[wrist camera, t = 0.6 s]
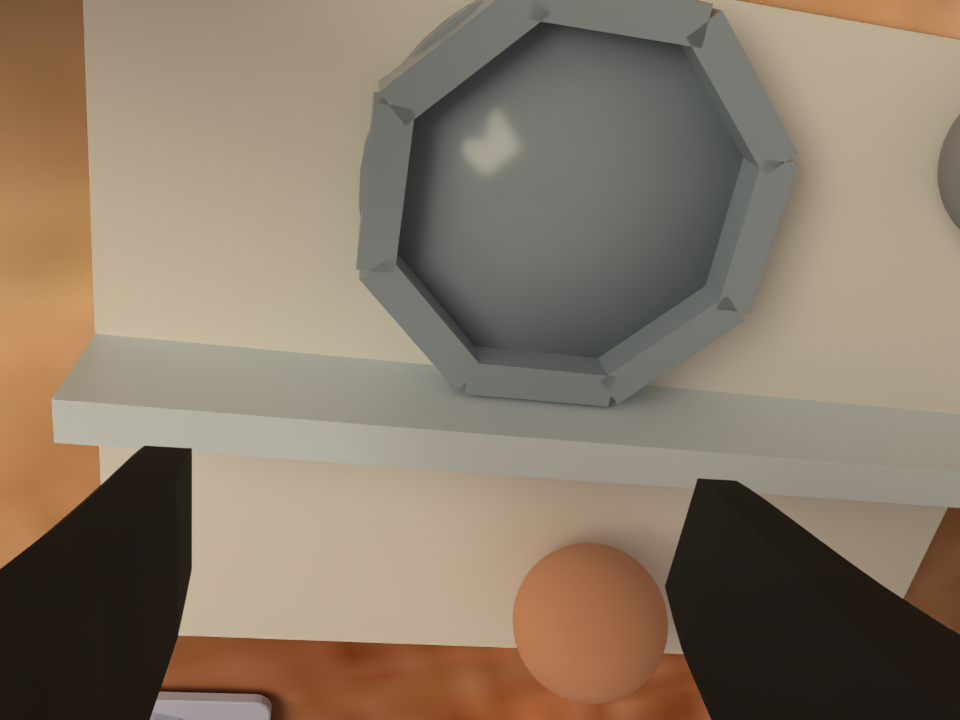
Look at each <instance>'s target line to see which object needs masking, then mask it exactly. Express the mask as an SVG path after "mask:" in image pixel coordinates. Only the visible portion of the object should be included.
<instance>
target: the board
mask: <svg viewBox="0 0 960 720" xmlns="http://www.w3.org/2000/svg"><path fill="white" fill-rule="evenodd" d="M474 1H476V0H83V21H84V48H85V75H86V102H87V129H88V156H89V183H90V210H91V238H92V265H93V292H94V319H95V334H105V335H116V336H127V337H137V338H148V339H159V340H170V341H180V342H191V343H202V344H212V345H223V346H234V347H245V348H255V349H266V350H277V351H287V352H298V353H309V354H320V355H330V356H341V357H352V358H362V359H373V360H384V361H395V362H405V363H416V364H427V365H434V364H433V363H432V362H431V361H430V360H429V359H428V358H427V356H426V355H425V354H424V353H423V352H422V351H421V350H420V348H419V347H418V346H417V345H416V344H415V343H414V342H413V340H412V339H411V338H410V337H409V336H408V335H407V334H406V332H405V331H404V330H403V329H402V328H401V327H400V326H399V324H398V323H397V322H396V321H395V320H394V319H393V318H392V316H391V315H390V314H389V313H388V312H387V311H386V309H385V308H384V307H383V306H382V305H381V304H380V303H379V301H378V300H377V299H376V298H375V297H374V296H373V295H372V293H371V292H370V291H369V290H368V289H367V288H366V287H365V285H364V284H363V283H362V282H361V281H360V280H359V270H356V259H357V244H358V234H359V225H360V210H359V189H360V168H361V162H362V156H363V150H364V144H365V140H366V137H367V134H368V131H369V127H370V120H371V110H372V101H373V91H374V92H379V81H380V80H381V79H382V78H384V77H385V76H386V75H387V74H389V73H390V72H391V71H392V70H394V69H395V68H396V67H398V66H399V65H400V64H401V63H403V62H404V61H405V60H406V58H407V57H408V56H409V55H410V54H411V52H412V51H413V50H414V49H415V48H416V46H417V45H418V44H419V43H420V42H421V41H422V40H423V39H424V38H425V37H426V36H427V35H429V34H430V33H431V32H432V31H433V30H434V29H435V28H436V27H437V26H438V25H440V24H441V23H442V22H443V21H444V20H446V19H447V18H449V17H450V16H452V15H453V14H455V13H456V12H458V11H459V10H460V9H462V8H463V7H465V6H466V5H468V4H470V3H472V2H474ZM700 1H704V2H708V3H712V4H713V7H712V8H715V9H719V10H722V11H723V13H724V15H725V16H726V18H727V20H728V22H729V24H730V26H731V28H732V30H733V31H734V33H735V35H736V37H737V39H738V41H739V43H740V45H741V47H742V48H743V50H744V52H745V54H746V56H747V58H748V60H749V62H750V64H751V65H752V67H753V69H754V71H755V73H756V75H757V77H758V79H759V81H760V82H761V84H762V86H763V88H764V90H765V92H766V94H767V96H768V97H769V99H770V101H771V103H772V105H773V107H774V109H775V111H776V113H777V114H778V116H779V118H780V120H781V122H782V124H783V126H784V128H785V130H786V131H787V133H788V135H789V137H790V139H791V141H792V143H793V145H794V146H795V148H796V150H797V152H798V154H797V155H795V156H794V157H792V158H791V160H793V161H794V162H796V163H798V168H797V171H796V174H795V177H794V180H793V183H792V186H791V189H790V192H789V195H788V198H787V201H786V204H785V207H784V211H783V214H782V217H781V220H780V223H779V226H778V229H777V232H776V235H775V238H774V241H773V244H772V247H771V250H770V253H769V257H768V260H767V263H766V266H765V269H764V272H763V275H762V278H761V281H760V284H759V287H758V290H757V293H756V296H755V300H754V303H753V306H752V309H751V312H750V313H744V312H738V313H739V314H740V316H741V318H742V319H743V322H742V323H740V324H739V325H737V326H736V327H734V328H733V329H731V330H730V331H728V332H727V333H725V334H724V335H722V336H721V337H719V338H718V339H716V340H715V341H713V342H712V343H710V344H709V345H707V346H705V347H704V348H702V349H701V350H699V351H698V352H696V353H695V354H693V355H692V356H690V357H689V358H687V359H686V360H684V361H683V362H681V363H680V364H678V365H677V366H675V367H674V368H672V369H671V370H669V371H668V372H666V373H664V374H663V375H661V376H660V377H658V378H657V379H655V380H654V381H652V382H651V383H649V384H648V385H652V386H662V387H673V388H684V389H695V390H705V391H716V392H727V393H737V394H748V395H759V396H770V397H780V398H791V399H802V400H812V401H823V402H834V403H845V404H855V405H866V406H877V407H887V408H898V409H909V410H920V411H930V412H941V413H952V414H960V230H959V228H958V227H957V226H956V225H955V224H954V223H953V221H952V220H951V218H950V216H949V215H948V213H947V211H946V209H945V207H944V205H943V202H942V200H941V196H940V192H939V187H938V177H937V171H938V161H939V156H940V152H941V148H942V145H943V142H944V140H945V138H946V135H947V133H948V131H949V129H950V128H951V126H952V124H953V123H954V121H955V120H956V118H957V117H958V116H959V114H960V39H955V38H949V37H943V36H938V35H932V34H927V33H921V32H915V31H910V30H904V29H898V28H893V27H887V26H882V25H876V24H870V23H865V22H859V21H853V20H848V19H842V18H836V17H831V16H825V15H820V14H814V13H808V12H803V11H797V10H791V9H786V8H780V7H775V6H769V5H763V4H758V3H752V2H746V1H741V0H700ZM138 450H139V449H135V448H121V447H107V446H99V454H100V481H101V484H102V483H104V482H105V481H106V480H107V479H108V478H109V477H110V476H111V475H112V474H113V473H114V472H115V471H116V470H117V469H118V468H120V467H121V466H122V465H123V464H124V463H125V462H126V461H127V460H128V459H129V458H130V457H131V456H132V455H133V454H135V453H136V452H137V451H138ZM693 492H694V489H689V488H675V487H661V486H647V485H633V484H619V483H605V482H592V481H578V480H564V479H550V478H536V477H522V476H509V475H495V474H481V473H467V472H453V471H439V470H425V469H412V468H398V467H384V466H370V465H356V464H342V463H329V462H315V461H301V460H287V459H273V458H259V457H245V456H232V455H218V454H204V453H192V571H191V576H190V581H189V586H188V591H187V596H186V601H185V606H184V610H183V615H182V620H181V624H180V629H179V633H178V635H182V636H209V637H236V638H263V639H290V640H317V641H344V642H371V643H398V644H425V645H452V646H479V647H506V648H517V646H516V643H515V638H514V633H513V608H514V603H515V599H516V596H517V592H518V590H519V588H520V586H521V584H522V582H523V580H524V578H525V577H526V575H527V574H528V572H529V571H530V570H531V569H532V568H533V567H534V565H535V564H536V563H537V562H538V561H540V560H541V559H542V558H543V557H545V556H546V555H548V554H549V553H551V552H553V551H555V550H557V549H559V548H562V547H565V546H568V545H573V544H578V543H597V544H602V545H607V546H611V547H613V548H616V549H619V550H620V551H622V552H624V553H626V554H628V555H630V556H631V557H632V558H634V559H635V560H636V561H638V562H639V563H640V564H641V565H642V566H643V567H644V568H645V569H646V570H647V571H648V572H649V574H650V575H651V576H652V578H653V579H654V581H655V582H656V584H657V586H658V588H659V590H660V592H661V594H662V596H663V599H664V603H665V606H666V610H667V617H668V635H667V642H666V646H665V650H664V653H668V654H684V653H683V651H682V648H681V645H680V642H679V638H678V635H677V631H676V628H675V624H674V621H673V617H672V613H671V609H670V605H669V601H668V597H667V593H666V589H665V584H666V581H667V578H668V574H669V571H670V568H671V564H672V561H673V558H674V555H675V551H676V548H677V545H678V541H679V538H680V535H681V532H682V528H683V525H684V522H685V519H686V515H687V512H688V509H689V505H690V502H691V499H692V496H693ZM757 494H758V493H757ZM758 495H759V496H761V497H762V498H764V499H765V500H767V501H768V502H769V503H771V504H772V505H773V506H775V507H776V508H778V509H779V510H780V511H782V512H783V513H784V514H786V515H787V516H788V517H790V518H791V519H792V520H794V521H795V522H796V523H798V524H799V525H800V526H802V527H803V528H804V529H806V530H807V531H808V532H810V533H811V534H812V535H814V536H815V537H816V538H818V539H819V540H820V541H822V542H823V543H825V544H826V545H827V546H829V547H830V548H831V549H833V550H834V551H835V552H837V553H838V554H839V555H841V556H842V557H843V558H845V559H846V560H848V561H849V562H850V563H852V564H853V565H855V566H856V567H857V568H859V569H860V570H862V571H863V572H864V573H866V574H867V575H869V576H870V577H871V578H873V579H874V580H876V581H877V582H879V583H880V584H881V585H883V586H884V587H886V588H887V589H889V590H890V591H892V592H893V593H895V594H896V595H898V596H899V597H901V598H902V599H904V597H905V594H906V592H907V590H908V588H909V586H910V584H911V582H912V580H913V578H914V576H915V574H916V572H917V570H918V568H919V566H920V564H921V562H922V560H923V558H924V556H925V553H926V551H927V549H928V547H929V545H930V543H931V541H932V539H933V537H934V535H935V533H936V531H937V529H938V527H939V525H940V523H941V521H942V519H943V517H944V515H945V512H946V510H947V508H948V507H938V506H924V505H910V504H896V503H882V502H869V501H855V500H841V499H827V498H813V497H799V496H785V495H772V494H758Z"/></svg>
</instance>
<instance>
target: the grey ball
mask: <svg viewBox="0 0 960 720" xmlns="http://www.w3.org/2000/svg"><path fill="white" fill-rule="evenodd" d="M937 177H938V187H939V192H940V196H941V200H942V202H943V205H944V207H945V209H946V211H947V213H948V215H949V216H950V218H951V220H952V221H953V223H954V224H955V225H956V226H957V227H958V228H959V230H960V114H959V116H958V117H957V118H956V120H955V121H954V123H953V124H952V126H951V128H950V129H949V131H948V133H947V135H946V138H945V140H944V142H943V145H942V148H941V152H940V156H939V161H938V171H937Z"/></svg>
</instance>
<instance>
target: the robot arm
mask: <svg viewBox="0 0 960 720" xmlns="http://www.w3.org/2000/svg"><path fill="white" fill-rule="evenodd" d="M191 571H192V448H177V447H160V446H143V447H142V448H141V449H139V450H138V451H137V452H136V453H135V454H133V455H132V456H131V457H130V458H129V459H128V460H127V461H126V462H125V463H124V464H123V465H122V466H121V467H120V468H118V469H117V470H116V471H115V472H114V473H113V474H112V475H111V476H110V477H109V478H108V479H107V480H106V481H105V482H104V483H102V484H101V485H100V486H99V487H98V488H97V489H96V490H95V491H94V492H93V493H92V494H90V495H89V496H88V497H87V498H86V499H85V500H84V501H83V502H82V503H80V504H79V505H78V506H77V507H76V508H75V509H74V510H72V511H71V512H70V513H69V514H68V515H67V516H65V517H64V518H63V519H62V520H61V521H60V522H59V523H57V524H56V525H55V526H54V527H53V528H52V529H50V530H49V531H48V532H47V533H46V534H44V535H43V536H42V537H41V538H40V539H38V540H37V541H36V542H35V543H33V544H32V545H31V546H30V547H28V548H27V549H26V550H24V551H23V552H22V553H20V554H19V555H18V556H17V557H15V558H14V559H13V560H11V561H10V562H9V563H8V564H6V565H5V566H4V567H2V568H1V569H0V720H271V709H272V705H271V702H270V700H269V699H268V698H266V697H265V696H263V695H258V694H234V693H196V692H159V691H160V688H161V685H162V682H163V679H164V676H165V673H166V670H167V667H168V664H169V662H170V659H171V656H172V653H173V650H174V647H175V643H176V640H177V637H178V633H179V629H180V624H181V620H182V615H183V610H184V606H185V601H186V596H187V591H188V586H189V581H190V576H191ZM665 589H666V593H667V597H668V601H669V605H670V609H671V613H672V617H673V621H674V624H675V628H676V631H677V635H678V638H679V642H680V645H681V648H682V651H683V653H684V656H685V658H686V661H687V663H688V666H689V668H690V670H691V673H692V675H693V678H694V680H695V682H696V685H697V687H698V689H699V692H700V694H701V696H702V699H703V701H704V703H705V706H706V708H707V710H708V713H709V715H710V717H711V720H960V634H958V633H956V632H954V631H953V630H951V629H949V628H948V627H946V626H944V625H943V624H941V623H939V622H938V621H936V620H935V619H933V618H931V617H930V616H928V615H927V614H925V613H923V612H922V611H920V610H919V609H917V608H916V607H914V606H913V605H911V604H910V603H908V602H907V601H905V600H904V599H902V598H901V597H899V596H898V595H896V594H895V593H893V592H892V591H890V590H889V589H887V588H886V587H884V586H883V585H881V584H880V583H879V582H877V581H876V580H874V579H873V578H871V577H870V576H869V575H867V574H866V573H864V572H863V571H862V570H860V569H859V568H857V567H856V566H855V565H853V564H852V563H850V562H849V561H848V560H846V559H845V558H843V557H842V556H841V555H839V554H838V553H837V552H835V551H834V550H833V549H831V548H830V547H829V546H827V545H826V544H825V543H823V542H822V541H820V540H819V539H818V538H816V537H815V536H814V535H812V534H811V533H810V532H808V531H807V530H806V529H804V528H803V527H802V526H800V525H799V524H798V523H796V522H795V521H794V520H792V519H791V518H790V517H788V516H787V515H786V514H784V513H783V512H782V511H780V510H779V509H778V508H776V507H775V506H773V505H772V504H771V503H769V502H768V501H767V500H765V499H764V498H762V497H761V496H759V495H758V494H757V493H755V492H754V491H752V490H751V489H749V488H748V487H746V486H744V485H743V484H741V483H740V482H738V481H734V480H717V479H700V478H698V479H697V482H696V486H695V489H694V492H693V496H692V499H691V502H690V505H689V509H688V512H687V515H686V519H685V522H684V525H683V528H682V532H681V535H680V538H679V541H678V545H677V548H676V551H675V555H674V558H673V561H672V564H671V568H670V571H669V574H668V578H667V581H666V584H665Z"/></svg>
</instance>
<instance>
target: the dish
mask: <svg viewBox="0 0 960 720" xmlns="http://www.w3.org/2000/svg"><path fill="white" fill-rule="evenodd" d="M712 7H713V4H712V3H708V2H704V1H700V0H476V1H474V2H472V3H470V4H468V5H466V6H465V7H463V8H462V9H460V10H459V11H458V12H456V13H455V14H453V15H452V16H450V17H449V18H447V19H446V20H444V21H443V22H442V23H441V24H440V25H438V26H437V27H436V28H435V29H434V30H433V31H432V32H431V33H430V34H429V35H427V36H426V37H425V38H424V39H423V40H422V41H421V42H420V43H419V44H418V45H417V46H416V48H415V49H414V50H413V51H412V52H411V54H410V55H409V56H408V57H407V58H406V60H405V61H404V62H403V63H401V64H400V65H399V66H398V67H396V68H395V69H394V70H392V71H391V72H390V73H389V74H387V75H386V76H385V77H384V78H382V79H381V80H380V81H379V92H374V91H373V101H372V110H371V120H370V127H369V131H368V134H367V137H366V140H365V144H364V150H363V156H362V162H361V168H360V189H359V210H360V225H359V234H358V244H357V259H356V270H359V280H360V281H361V282H362V283H363V284H364V285H365V287H366V288H367V289H368V290H369V291H370V292H371V293H372V295H373V296H374V297H375V298H376V299H377V300H378V301H379V303H380V304H381V305H382V306H383V307H384V308H385V309H386V311H387V312H388V313H389V314H390V315H391V316H392V318H393V319H394V320H395V321H396V322H397V323H398V324H399V326H400V327H401V328H402V329H403V330H404V331H405V332H406V334H407V335H408V336H409V337H410V338H411V339H412V340H413V342H414V343H415V344H416V345H417V346H418V347H419V348H420V350H421V351H422V352H423V353H424V354H425V355H426V356H427V358H428V359H429V360H430V361H431V362H432V363H433V364H434V366H435V367H436V368H437V369H438V370H439V371H440V372H441V374H442V375H443V376H444V377H445V378H446V379H447V380H448V382H449V383H450V384H451V385H452V386H453V387H454V388H455V390H457V389H458V388H459V387H461V386H462V385H463V389H464V394H469V395H480V396H492V397H503V398H514V399H526V400H537V401H548V402H560V403H571V404H582V405H594V406H605V407H608V405H609V402H610V398H611V396H612V398H613V399H614V400H615V402H616V403H617V404H619V403H620V402H622V401H623V400H625V399H627V398H628V397H630V396H631V395H633V394H634V393H636V392H637V391H639V390H640V389H642V388H643V387H645V386H646V385H648V384H649V383H651V382H652V381H654V380H655V379H657V378H658V377H660V376H661V375H663V374H664V373H666V372H668V371H669V370H671V369H672V368H674V367H675V366H677V365H678V364H680V363H681V362H683V361H684V360H686V359H687V358H689V357H690V356H692V355H693V354H695V353H696V352H698V351H699V350H701V349H702V348H704V347H705V346H707V345H709V344H710V343H712V342H713V341H715V340H716V339H718V338H719V337H721V336H722V335H724V334H725V333H727V332H728V331H730V330H731V329H733V328H734V327H736V326H737V325H739V324H740V323H742V322H743V319H742V318H741V316H740V314H739V313H738V312H744V313H750V312H751V309H752V306H753V303H754V300H755V296H756V293H757V290H758V287H759V284H760V281H761V278H762V275H763V272H764V269H765V266H766V263H767V260H768V257H769V253H770V250H771V247H772V244H773V241H774V238H775V235H776V232H777V229H778V226H779V223H780V220H781V217H782V214H783V211H784V207H785V204H786V201H787V198H788V195H789V192H790V189H791V186H792V183H793V180H794V177H795V174H796V171H797V168H798V163H796V162H794V161H793V160H791V158H792V157H794V156H795V155H797V154H798V152H797V150H796V148H795V146H794V145H793V143H792V141H791V139H790V137H789V135H788V133H787V131H786V130H785V128H784V126H783V124H782V122H781V120H780V118H779V116H778V114H777V113H776V111H775V109H774V107H773V105H772V103H771V101H770V99H769V97H768V96H767V94H766V92H765V90H764V88H763V86H762V84H761V82H760V81H759V79H758V77H757V75H756V73H755V71H754V69H753V67H752V65H751V64H750V62H749V60H748V58H747V56H746V54H745V52H744V50H743V48H742V47H741V45H740V43H739V41H738V39H737V37H736V35H735V33H734V31H733V30H732V28H731V26H730V24H729V22H728V20H727V18H726V16H725V15H724V13H723V11H722V10H719V9H715V8H712Z"/></svg>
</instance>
